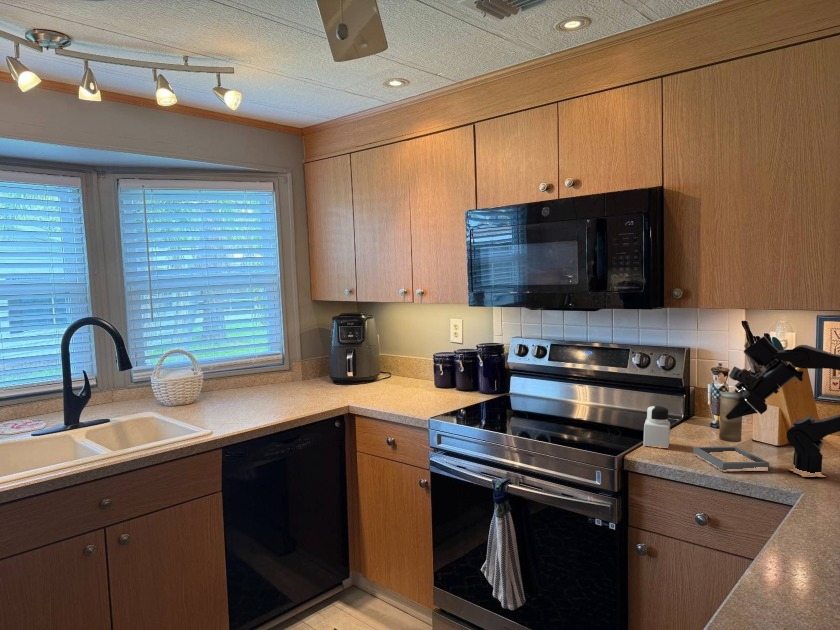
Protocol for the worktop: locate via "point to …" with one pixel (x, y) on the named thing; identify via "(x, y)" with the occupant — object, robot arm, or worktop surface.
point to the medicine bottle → (657, 427)
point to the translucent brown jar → (732, 427)
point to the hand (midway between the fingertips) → (725, 415)
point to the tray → (722, 465)
